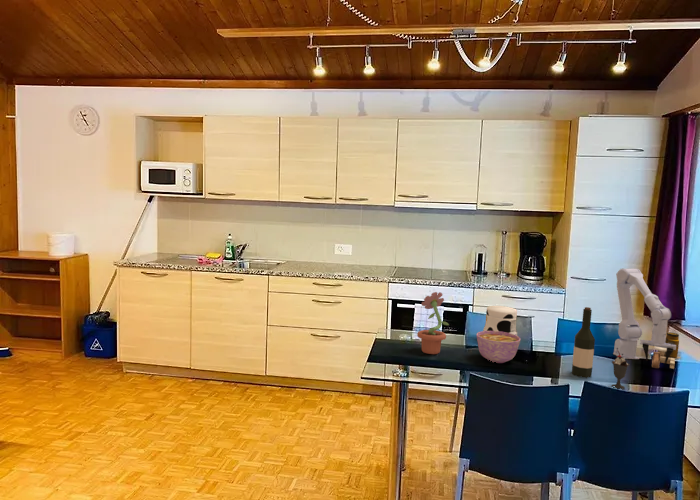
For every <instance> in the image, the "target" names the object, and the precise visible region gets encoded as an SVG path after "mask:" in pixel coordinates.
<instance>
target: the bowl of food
mask: <svg viewBox="0 0 700 500" xmlns="http://www.w3.org/2000/svg"><path fill="white" fill-rule="evenodd" d="M476 340H477V346H478V351H479V354H480V356H482V357H483V358H485V359H487V361H489V360H490V361H489V362H491V361H492V362H491V363H494V362H496V363H497V364H504V363H506V362H509V361H511V360H513V358H514V357H515V356H516V354H517V352H518V349H519V345H520V343H521V337H520V336H518V335H517V336H516V335H514V334H510V333H506V332H500V331H483V330H482V331H478V332H477V333H476Z"/></svg>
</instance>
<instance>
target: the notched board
mask: <svg viewBox="0 0 700 500" xmlns="http://www.w3.org/2000/svg"><path fill="white" fill-rule="evenodd" d="M665 358H666V357H663V356H660V364H661V363H663V364H665ZM675 361H676V359H675V358H668V360H667V363H666V364H668V365H669V369H673V370H674V369H675V364H676V363H675Z"/></svg>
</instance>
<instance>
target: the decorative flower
mask: <svg viewBox="0 0 700 500" xmlns="http://www.w3.org/2000/svg"><path fill="white" fill-rule="evenodd" d="M443 295H444V294H443V293H442V292H437V291H435V292H432V293H430V295H426V296H425V298H424V299H423V301H422V302H421V306H422V307H424V308H425V309H426V310H431V309H433V311H434V312H433V313H430V315H429V316H428V317H427V318H428V319H432V318H434V316H435V317H436V319H437V325H436V326H432V327H430V328H429V329H423V330H419V331H417V334H416V335H417V337H418V338H420V341H421V351H422V352H423V353H424V354H427V355H428V354H429V355H438V354H439V353H441V347H442V341H444V340H446V339H447V334H446V333H445V332H443V331H442V330H441V331H440V330H439V329H441V327H442V325H444V326H449V325H450V324H449V323H448V322H446V321H443V320H442V318H441V315H440V313H439V310H438V307H440V306H441V305H442V304H443V302H444V301H445V299H444V297H442V296H443ZM441 297H442V298H441Z"/></svg>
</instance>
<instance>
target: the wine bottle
mask: <svg viewBox="0 0 700 500" xmlns="http://www.w3.org/2000/svg"><path fill="white" fill-rule="evenodd" d="M582 310H583V311H582V321H581V328H580V329H579V330H578V332H577V333H576V334H575V335H574V341H573V342H574V346H573V355H572V364H571V365H572V367H571V375H573V376H576V377H578V378H585V379H588V378H592V374H593V373H592V372H593V365H594V354H595V343H596V339H595V337H594V335H593V333H592V331H591V322H592V307H587V306H586V307H584V308H583V309H582Z"/></svg>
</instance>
